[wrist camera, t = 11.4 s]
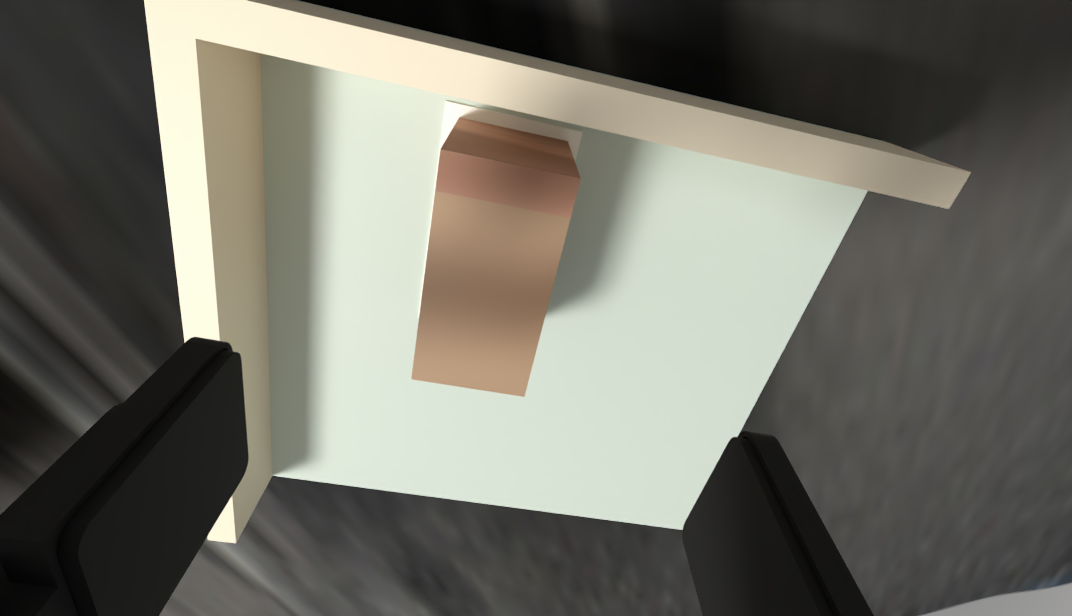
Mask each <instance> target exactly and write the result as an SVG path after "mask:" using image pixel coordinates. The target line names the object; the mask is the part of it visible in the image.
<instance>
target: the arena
mask: <svg viewBox="0 0 1072 616" xmlns="http://www.w3.org/2000/svg"><path fill="white" fill-rule="evenodd" d="M144 3H145V11H146V20H147V28H148V37H149V45H150V54H151V62H152V71H153V79H154V87H155V96H156V104H157V113H158V121H159V130H160V138H161V147H162V155H163V164H164V172H165V180H166V189H167V197H168V206H169V214H170V223H171V231H172V240H173V248H174V257H175V265H176V273H177V282H178V290H179V299H180V307H181V316H182V324H183V333H184V341H185V342H186V341H187V340H189V339H190V338H192V337H200V338H206V339H212V340H218V341H223V342H228V343H230V345H231V346H232V350H233V352H238V353H240V355H241V359H242V373H243V387H244V400H245V414H246V428H247V442H248V455H249V459H248V466H247V469H246V472H245V474H244V476H243V478H242V480H241V482H240V483H239V485H238V487H237V488H236V490H235V492H234V493H233V495H232V497H231V498H230V500H229V501H228V503H227V505H226V506H225V508H224V510H223V511H222V513H221V515H220V516H219V518H218V519H217V521H216V523H215V524H214V526H213V528H212V529H211V531H210V533H209V534H208V540H213V541H221V542H230V543H236V542H237V540H238V539H239V537H240V535H241V533H242V531H243V529H244V527H245V526H246V524H247V522H248V520H249V518H250V516H251V514H252V513H253V511H254V509H255V507H256V505H257V503H258V501H259V500H260V498H261V496H262V494H263V492H264V490H265V488H266V487H267V485H268V483H269V481H270V479H271V477H272V476H279V477H287V478H294V479H302V480H310V481H317V482H325V483H332V484H340V485H347V486H355V487H362V488H370V489H378V490H385V491H393V492H400V493H408V494H415V495H423V496H430V497H438V498H446V499H453V500H461V501H468V502H476V503H483V504H491V505H499V506H506V507H514V508H521V509H529V510H536V511H544V512H551V513H559V514H567V515H574V516H582V517H589V518H597V519H604V520H612V521H619V522H627V523H635V524H642V525H650V526H657V527H665V528H672V529H680V530H683V526H684V523H685V521H686V519H687V517H688V515H689V514H690V512H691V510H692V508H693V506H694V504H695V503H696V501H697V499H698V497H699V495H700V493H701V492H702V490H703V488H704V486H705V484H706V482H707V481H708V479H709V477H710V475H711V473H712V471H713V470H714V468H715V466H716V464H717V462H718V460H719V459H720V457H721V455H722V453H723V451H724V449H725V448H726V446H727V444H728V442H729V441H730V439H731V438H733V437H738V435H739V433H740V431H741V429H742V427H743V425H744V424H745V422H746V420H747V418H748V416H749V414H750V412H751V410H752V409H753V407H754V405H755V403H756V401H757V399H758V397H759V395H760V393H761V392H762V390H763V388H764V386H765V384H766V382H767V380H768V378H769V376H770V375H771V373H772V371H773V369H774V367H775V365H776V363H777V361H778V359H779V358H780V356H781V354H782V352H783V350H784V348H785V346H786V344H787V342H788V341H789V339H790V337H791V335H792V333H793V331H794V329H795V327H796V326H797V324H798V322H799V320H800V318H801V316H802V314H803V312H804V310H805V309H806V307H807V305H808V303H809V301H810V299H811V297H812V295H813V293H814V292H815V290H816V288H817V286H818V284H819V282H820V280H821V278H822V276H823V275H824V273H825V271H826V269H827V267H828V265H829V263H830V261H831V260H832V258H833V256H834V254H835V252H836V250H837V248H838V246H839V244H840V243H841V241H842V239H843V237H844V235H845V233H846V231H847V229H848V227H849V226H850V224H851V222H852V220H853V218H854V216H855V214H856V212H857V210H858V209H859V207H860V205H861V203H862V201H863V199H864V197H865V195H866V194H867V192H868V191H872V192H876V193H880V194H885V195H889V196H894V197H898V198H902V199H907V200H911V201H916V202H920V203H925V204H929V205H933V206H938V207H942V208H947V209H949V208H950V206H951V205H952V203H953V202H954V200H955V198H956V197H957V195H958V193H959V192H960V190H961V189H962V187H963V185H964V184H965V182H966V180H967V179H968V177H969V176H970V174H971V172H969V171H966V170H963V169H961V168H958V167H955V166H952V165H950V164H947V163H944V162H941V161H938V160H936V159H933V158H930V157H927V156H925V155H922V154H919V153H916V152H913V151H911V150H908V149H905V148H902V147H899V146H897V145H894V144H891V143H888V142H886V141H882V140H878V139H873V138H869V137H865V136H861V135H857V134H853V133H848V132H844V131H840V130H836V129H832V128H828V127H823V126H819V125H815V124H811V123H807V122H803V121H799V120H794V119H790V118H786V117H782V116H778V115H774V114H769V113H765V112H761V111H757V110H753V109H749V108H744V107H740V106H736V105H732V104H728V103H724V102H719V101H715V100H711V99H707V98H703V97H699V96H694V95H690V94H686V93H682V92H678V91H674V90H669V89H665V88H661V87H657V86H653V85H649V84H644V83H640V82H636V81H632V80H628V79H624V78H619V77H615V76H611V75H607V74H603V73H599V72H594V71H590V70H586V69H582V68H578V67H574V66H569V65H565V64H561V63H557V62H553V61H549V60H544V59H540V58H536V57H532V56H528V55H524V54H519V53H515V52H511V51H507V50H503V49H499V48H495V47H490V46H486V45H482V44H478V43H474V42H470V41H465V40H461V39H457V38H453V37H449V36H445V35H440V34H436V33H432V32H428V31H424V30H420V29H415V28H411V27H407V26H403V25H399V24H395V23H390V22H386V21H382V20H378V19H374V18H370V17H365V16H361V15H357V14H353V13H349V12H345V11H340V10H336V9H332V8H328V7H324V6H320V5H315V4H311V3H307V2H303V1H299V0H144ZM459 117H460V118H464V119H469V120H474V121H478V122H483V123H487V124H492V125H496V126H501V127H506V128H510V129H515V130H519V131H524V132H528V133H533V134H538V135H542V136H547V137H551V138H556V139H560V140H565V141H568V143H569V146H570V149H571V152H572V155H573V158H574V160H575V163H576V166H577V169H578V172H579V175H580V178H581V180H580V184H579V188H578V192H577V196H576V199H575V203H574V207H573V211H572V215H571V219H570V223H569V226H568V230H567V234H566V238H565V242H564V246H563V250H562V254H561V257H560V261H559V265H558V269H557V273H556V277H555V281H554V284H553V288H552V292H551V296H550V300H549V304H548V308H547V312H546V315H545V319H544V323H543V327H542V331H541V335H540V339H539V342H538V346H537V350H536V354H535V358H534V362H533V366H532V369H531V373H530V377H529V381H528V385H527V389H526V393H525V397H521V396H515V395H508V394H502V393H496V392H489V391H483V390H477V389H470V388H464V387H457V386H451V385H445V384H438V383H432V382H425V381H419V380H413V379H411V377H412V369H413V361H414V354H415V346H416V338H417V330H418V322H419V314H420V306H421V298H422V290H423V283H424V275H425V267H426V259H427V251H428V243H429V235H430V227H431V220H432V212H433V204H434V196H435V188H436V180H437V172H438V164H439V156H440V149H441V147H442V146H443V144H444V142H445V141H446V139H447V137H448V135H449V134H450V132H451V130H452V129H453V127H454V125H455V124H456V122H457V120H458V119H459Z"/></svg>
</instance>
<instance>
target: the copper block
mask: <svg viewBox="0 0 1072 616" xmlns="http://www.w3.org/2000/svg"><path fill="white" fill-rule="evenodd" d="M580 180H581V178H580V175H579V172H578V169H577V166H576V163H575V160H574V158H573V155H572V152H571V149H570V146H569V143H568V141H565V140H560V139H556V138H551V137H547V136H542V135H538V134H533V133H528V132H524V131H519V130H515V129H510V128H506V127H501V126H496V125H492V124H487V123H483V122H478V121H474V120H469V119H464V118H460V117H459V119H458V120H457V122H456V124H455V125H454V127H453V129H452V130H451V132H450V134H449V135H448V137H447V139H446V141H445V142H444V144H443V146H442V147H441V149H440V156H439V164H438V172H437V180H436V188H435V196H434V204H433V212H432V220H431V227H430V235H429V243H428V251H427V259H426V267H425V275H424V283H423V290H422V298H421V306H420V314H419V322H418V330H417V338H416V346H415V354H414V361H413V369H412V377H411V379H413V380H419V381H425V382H432V383H438V384H445V385H451V386H457V387H464V388H470V389H477V390H483V391H489V392H496V393H502V394H508V395H515V396H521V397H525V393H526V389H527V385H528V381H529V377H530V373H531V369H532V366H533V362H534V358H535V354H536V350H537V346H538V342H539V339H540V335H541V331H542V327H543V323H544V319H545V315H546V312H547V308H548V304H549V300H550V296H551V292H552V288H553V284H554V281H555V277H556V273H557V269H558V265H559V261H560V257H561V254H562V250H563V246H564V242H565V238H566V234H567V230H568V226H569V223H570V219H571V215H572V211H573V207H574V203H575V199H576V196H577V192H578V188H579V184H580Z"/></svg>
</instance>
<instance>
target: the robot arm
mask: <svg viewBox="0 0 1072 616" xmlns="http://www.w3.org/2000/svg"><path fill="white" fill-rule="evenodd" d="M248 459H249V455H248V442H247V428H246V414H245V400H244V387H243V373H242V359H241V355H240V353H238V352H233V350H232V346H231V345H230V343H228V342H223V341H218V340H212V339H206V338H200V337H192V338H190V339H189V340H187V341H186V342H185V343H184V344H183V345H182V346H181V347H180V348H179V349H178V350H177V351H176V352H175V353H174V354H173V355H172V356H171V357H170V358H169V359H168V360H167V361H166V362H165V363H164V364H163V365H162V366H161V367H160V368H159V369H158V370H157V371H156V372H155V373H154V374H153V375H152V376H151V377H150V378H149V379H148V380H147V381H145V382H144V383H143V384H142V385H141V386H140V387H139V388H138V389H137V390H136V391H135V392H134V393H133V394H132V395H131V396H130V397H129V398H128V399H127V400H126V401H125V402H124V403H122V404H119V405H116V406H114V407H113V408H112V409H110V410H109V411H108V412H107V413H106V414H104V415H103V416H102V417H101V418H100V419H99V420H98V421H97V422H96V423H95V424H94V425H93V426H92V427H91V428H90V429H89V430H88V431H87V432H86V433H85V434H84V435H83V436H82V437H81V438H80V439H79V440H78V441H77V442H76V443H74V444H73V445H72V446H71V447H70V448H69V449H68V450H67V451H66V452H65V453H64V454H63V455H62V456H61V457H60V458H59V459H58V460H57V461H56V462H55V463H54V464H53V465H52V466H51V467H50V468H49V469H48V470H47V471H45V472H44V473H43V474H42V475H41V476H40V477H39V478H38V479H37V480H36V481H35V482H34V483H33V484H32V485H31V486H30V487H29V488H28V489H27V490H26V491H25V492H24V493H23V494H22V495H21V496H20V497H19V498H18V499H17V500H15V501H14V502H13V503H12V504H11V505H10V506H9V507H8V508H7V509H6V510H5V511H4V512H3V513H2V514H1V515H0V616H159V614H160V613H161V611H162V610H163V608H164V606H165V605H166V603H167V601H168V600H169V598H170V596H171V595H172V593H173V592H174V590H175V588H176V587H177V585H178V583H179V582H180V580H181V578H182V577H183V575H184V574H185V572H186V570H187V569H188V567H189V565H190V564H191V562H192V560H193V559H194V557H195V555H196V554H197V552H198V551H199V549H200V547H201V546H202V544H203V542H204V541H205V539H206V537H207V536H208V534H209V533H210V531H211V529H212V528H213V526H214V524H215V523H216V521H217V519H218V518H219V516H220V515H221V513H222V511H223V510H224V508H225V506H226V505H227V503H228V501H229V500H230V498H231V497H232V495H233V493H234V492H235V490H236V488H237V487H238V485H239V483H240V482H241V480H242V478H243V476H244V474H245V472H246V469H247V466H248ZM682 537H683V544H684V547H685V551H686V555H687V558H688V562H689V566H690V570H691V573H692V577H693V581H694V584H695V588H696V592H697V595H698V599H699V603H700V607H701V610H702V614H703V616H874V615H873V614H872V612H871V610H870V608H869V606H868V604H867V603H866V601H865V599H864V597H863V595H862V593H861V592H860V590H859V588H858V586H857V584H856V582H855V581H854V579H853V577H852V575H851V573H850V571H849V570H848V568H847V566H846V564H845V562H844V560H843V559H842V557H841V555H840V553H839V551H838V549H837V548H836V546H835V544H834V542H833V540H832V538H831V537H830V535H829V533H828V531H827V529H826V527H825V526H824V524H823V522H822V520H821V518H820V516H819V515H818V513H817V511H816V509H815V507H814V505H813V504H812V502H811V500H810V498H809V496H808V494H807V493H806V491H805V489H804V487H803V485H802V483H801V482H800V480H799V478H798V476H797V474H796V473H795V471H794V469H793V467H792V465H791V463H790V462H789V460H788V458H787V456H786V454H785V452H784V451H783V449H782V447H781V445H780V443H779V441H778V440H777V439H776V438H775V437H774V436H771V435H766V434H760V433H754V432H748V431H743V432H742V433H740V434H739V436H738V437H733V438H731V439H730V441H729V442H728V444H727V446H726V448H725V449H724V451H723V453H722V455H721V457H720V459H719V460H718V462H717V464H716V466H715V468H714V470H713V471H712V473H711V475H710V477H709V479H708V481H707V482H706V484H705V486H704V488H703V490H702V492H701V493H700V495H699V497H698V499H697V501H696V503H695V504H694V506H693V508H692V510H691V512H690V514H689V515H688V517H687V519H686V521H685V523H684V526H683V533H682Z"/></svg>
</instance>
